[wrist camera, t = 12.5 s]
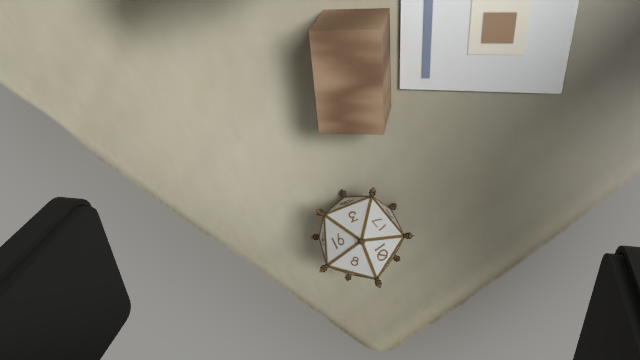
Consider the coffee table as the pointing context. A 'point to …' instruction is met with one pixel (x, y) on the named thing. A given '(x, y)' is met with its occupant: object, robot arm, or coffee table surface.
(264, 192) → the coffee table surface
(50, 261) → the robot arm
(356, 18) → the walnut block
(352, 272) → the game die
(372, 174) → the coffee table surface
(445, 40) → the white picture card
